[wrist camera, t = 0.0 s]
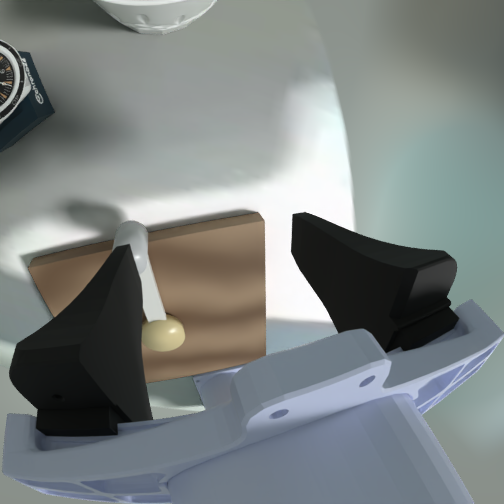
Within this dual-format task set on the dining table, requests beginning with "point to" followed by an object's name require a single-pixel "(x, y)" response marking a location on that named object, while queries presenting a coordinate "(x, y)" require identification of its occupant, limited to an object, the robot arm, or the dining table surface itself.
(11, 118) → the watch
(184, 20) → the white cup
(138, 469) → the robot arm
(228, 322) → the brown wooden board
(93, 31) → the dining table surface
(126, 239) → the lever
